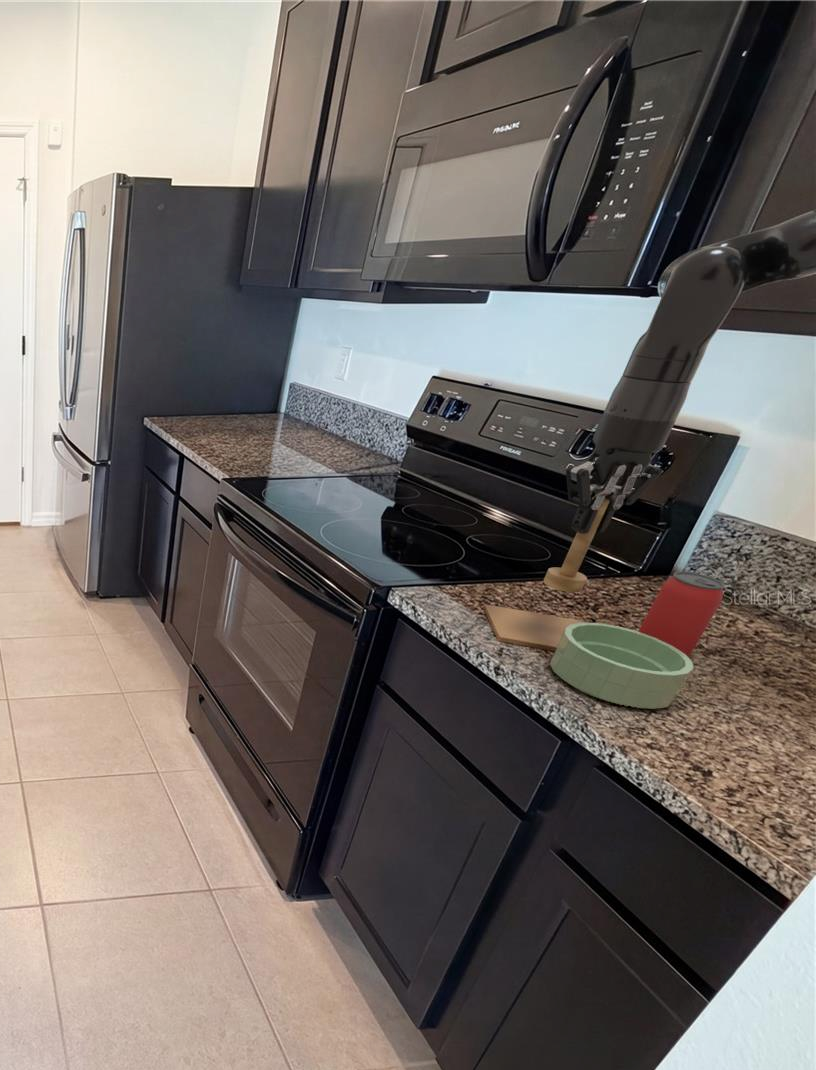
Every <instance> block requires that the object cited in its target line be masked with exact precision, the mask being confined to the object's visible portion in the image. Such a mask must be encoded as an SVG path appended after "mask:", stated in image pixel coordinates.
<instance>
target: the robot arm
mask: <svg viewBox="0 0 816 1070" xmlns="http://www.w3.org/2000/svg"><path fill="white" fill-rule="evenodd" d="M813 275H816V209H813V210H811V211H807V212H806V213H802V214H800V215H797V216H795V217H792V218H790V219H788V220H785V221H783V222H780V223H778V224H775V225H773V226H769V227H766V228H762V229H759V230H755V231H752V232H749V233H746V234H745V233H744V234H741V235H738V236H735V237H731V238H729V239H728V238H727V239H725V240H722V241H717V242H715V243H712V244H709V245H705V246H702V247H699V248H696V249H694V250H691V251H689V252H686V253H684V254H682V255H680V256H679V257H677V258H676V259H674V260H673V261H672V262H671V263H670V264H669V265H668V266H666V268H665V269H664V270H663V272H662V274H661V275H660V277H659V279H658V283H657V293H658V296H659V297H660V300H659V302H658V305H657V307H656V309H655V311H654V314H653V316H652V318H651V321H650V323H649V325H648V328H647V330H646V331H645V332H644V333H643V334H642V335H641V336H640V337H639V339H637V342H636V344H635V345H634V347H633V349H632V351H631V354H630V356H629V358H628V361H627V362H626V366H625V367H624V370H623V373H622V375H621V376H620V378H619V381H618V382H617V384H616V386H615V387H614V389H613V391H612V392H611V395H610V397H609V400H608V402H607V404H606V407H605V408H604V411H603V413H602V415H601V418H600V419H599V423H598V425H597V426H596V430H595V432H594V434H593V437H592V442H593V444H594V446H595V447H594V450H593V451H592V452H591V454H590V455H589V456H588V457H587V460H586V461H585V462H584V463H582V464H580V465H578V466H577V465H573V464H571V465H568V467H566V469H565V477H566V488H567V499H568V501H570V502H572V503H574V504H577V510H576V512H575V515H574V516H573V519H572V521H571V524H570V527H571V530H572V531H574V532H576V533H577V532H578V533H581V534H583V533H588V532H589V530H590V528H591V526H592V523H593V521H594V519H595V517H596V515H597V512H598V510H597V509H598V508H599V507H600V505H601V503H602V501H603V500H604V498H605V499H608V500H610V502H609V504H608V506H607V508H606V511H605V513H604V515H603V517H602V519H601V521H600V524H599V526H598V528H597V530H596V532H595V534H603V533H604V532H605V530H606V529H607V528H608V527H609V525H610V522H611V521H612V518H613V516H614V514H615V512H616V511H617V510H619V509H621V507H622V506H624V505H626V506H631V505H633V504H634V503H635V502H636V501H637V500H638V499H639V497H641V496H642V495H643V494H644V493H645V492H646V490H648V488H649V487H650V486H651V485H652V484H653V483H654V482H655V481H656V480H657V479H658V478H659V477H660V476H661V475H662V474H663V473H664V472H663V468H660V467H657V466H654V465H653V464H652V454H655V453H659V452H660V451H662V450H663V448H664V447H665V444H666V441H667V439H668V437H669V436H670V434H671V431H672V430H673V427H674V425H675V423H676V421H677V419H678V417H679V415H680V414H681V413H680V412H681V410H682V408H683V406H684V404H685V402H686V399H687V397H688V393H689V389H690V386H691V384H692V382H693V380H694V378H695V375H696V374H697V371H698V370H699V367H700V366H701V363H702V361H703V358H704V356H705V354H706V351H707V350H708V349H707V348H708V347H709V344H710V343H711V340H712V338H713V337H714V336H715V335H716V333H717V332H718V330H719V329H720V327H721V326H722V325H723V323H724V321H725V319H726V318H727V316H728V315H729V313H730V312H731V310H732V308H733V307H734V305H735V304H736V301H737V299H738V298H739V297H740V294H741V293H743V292H746V291H749V290H753V289H756V288H760V287H763V286H765V285H768V284H772V283H776V282H783V281H790V280H797V279H801V278H805V277H809V276H813ZM593 493H594V496H593V497H594V498H593V497H592V495H593ZM592 498H593V500H592Z"/></svg>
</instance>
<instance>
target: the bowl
mask: <svg viewBox="0 0 816 1070" xmlns="http://www.w3.org/2000/svg"><path fill="white" fill-rule="evenodd" d="M638 631H639V630H638ZM638 631H637V630H634V629H630V628H626V627H622V626H619V625H613V624H606V623H600V622H588V621H587V622H585V621H584V622H583V623H575V624H571V625H569V626H567V627H566V628H565V630H564V632H563V634H562V636H561V639H560V641H559V643H558V645H557V647H556V649H555V651H553V653H552V656H551V658H550V662H549V665H550V668H551V670H552V671H553V673H555V675H557V676H558V677H559V678H560V679H561V680H562V681H564V682H566V683H567V684H568V685H569V686H572V687H573V688H574V689H576V690H578V691H580V692H582V693H584V694H586V695H589V696H591V697H593V698H595V697H596V698H595V699H598V698H599V699H598V700H601V701H604V702H608V703H610V702H611V704H614V703H615V705H618V704H619V705H618V706H622V705H624V706H623V707H628V706H631V707H630V708H635V707H636V708H637V709H648V710H650V709H651V710H656V709H657V710H658V709H663V708H668V707H669V706H671V705H672V704H673V703H674V702H675V701H676V699H677V697H678V696H679V694H680V692H681V691H682V689H683V688H684V685H686V683H687V681H688V679H689V678H690V675H691V674H692V672H693V671H694V662H693V661H692V660H691V659H690V658H689V656H686V654H684V653H683V652H681V651H680V650H678V649H677V648H675V647H673V646H672V645H670V644H667V643H665V642H663V641H661V640H659V639H657V638H655V637H652V636H649V635H646V634H643V633H641V632H638Z"/></svg>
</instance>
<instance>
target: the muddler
mask: <svg viewBox="0 0 816 1070" xmlns="http://www.w3.org/2000/svg"><path fill="white" fill-rule="evenodd" d="M593 498H594V496H592V497H591V499H592V500H593ZM609 502H610V500H608V499H605V498H604V500H603V501H602V503H601V505H600V507H599V508H598V509H597V510H598V512H597V515H596V517H595V519H594V521H593V523H592V526H591V528H590V530H589V532H588V533H583V534H581V533H578V532H576V534H575V536H574V538H573V541H572V543H571V545H570V547H569V550H568V551H567V553H566V556H565V558H564V560H563V563H562V565H561V567H557V566H556V567H555V566H554V567H549V568H548V569H547V571H546V573H545V576H544V578H543V579H542V582H543V583H544V585H546V586H548V587H549V588H551V589H554V590H558V591H562V592H566V593H580V592H582V591H583V589H584V587H585V585H586V582H587V580H588V577H587V576H586V575H585V574H584V573H581V572H579V569H580V567H581V565H582V563H583V560H584V559H585V556H586V554H587V552H588V550H589V547H590V545H591V543H592V541H593V539H594V537H595V534H596V533H595V532H596V530H597V528H598V526H599V524H600V521H601V519H602V517H603V515H604V513H605V511H606V508H607V506H608V504H609Z"/></svg>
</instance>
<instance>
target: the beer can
mask: <svg viewBox="0 0 816 1070" xmlns="http://www.w3.org/2000/svg"><path fill="white" fill-rule="evenodd" d="M725 586H726V585H725V584H724V582H722V581H720V580H719V579H717V578H714V577H712V576H708V575H705V574H702V573H697V572H691V571H676V572H673V574H672V576H671V577H669V578H668V579H667V580H666V581H665V582H664V583H662V586H661V588H660V589H659V592H658V593H657V594H656V597H655V599H654V600H653V602H652V604H651V606H650V607H649V610H648V611H647V613H646V615H645V617H644V620H643V621H642V623H641V625H640V627H639V629H638V632H641V633H643V634H646V635H649V636H652V637H655V638H657V639H659V640H661V641H663V642H665V643H667V644H670V645H672V646H673V647H675V648H677V649H678V650H680V651H681V652H683V653H684V654H686V656H687V657H689V656H691V655H692V653H693V652H694V649H696V646H697V645H698V644H699V641H700V639H701V638H702V636H703V634H704V633H705V631H706V629H707V627H708V626H709V624H710V622H711V620H712V619H713V617H714V616H715V614H716V612H717V610H718V609H719V607H720V605H721V604H722V601H723V597H724V589H725Z"/></svg>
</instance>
